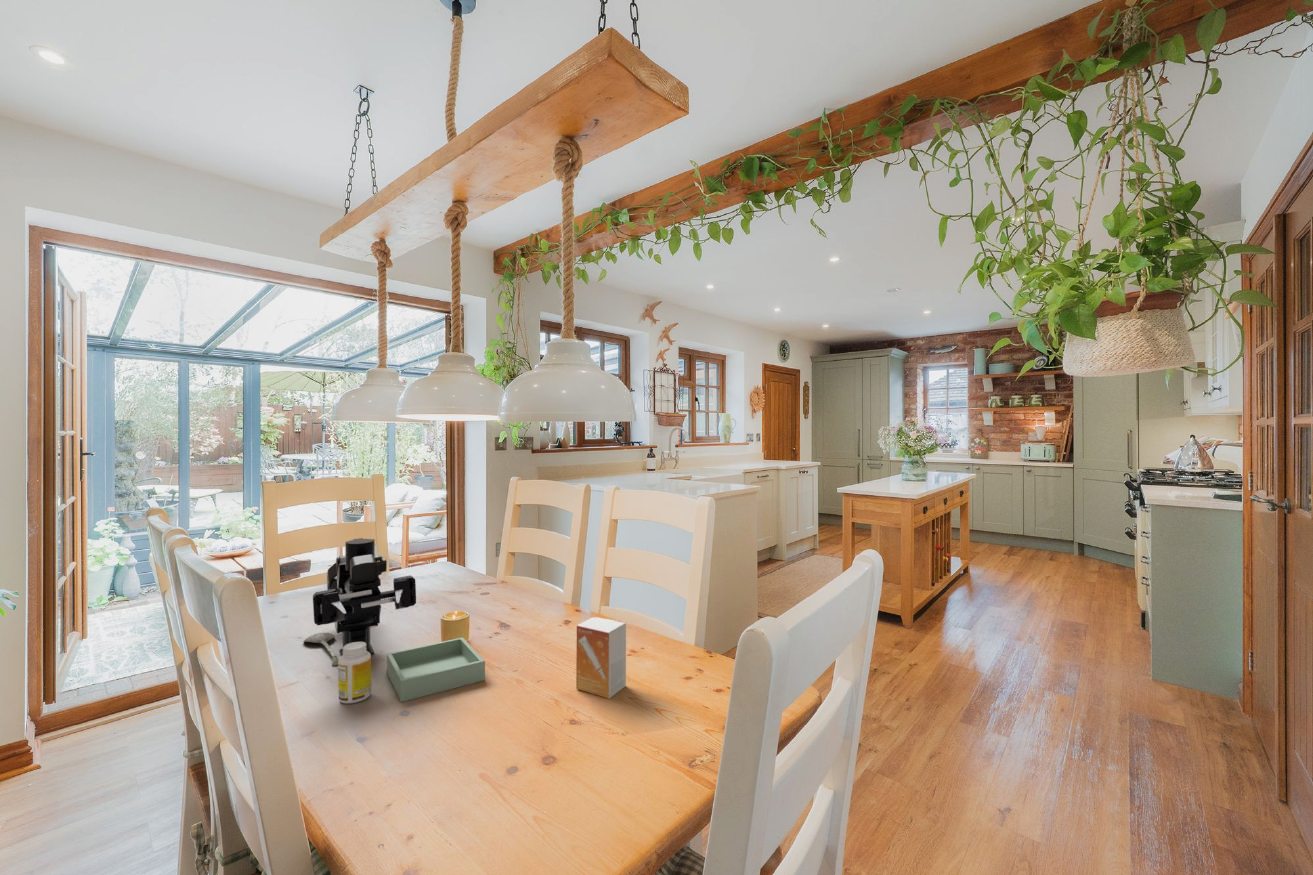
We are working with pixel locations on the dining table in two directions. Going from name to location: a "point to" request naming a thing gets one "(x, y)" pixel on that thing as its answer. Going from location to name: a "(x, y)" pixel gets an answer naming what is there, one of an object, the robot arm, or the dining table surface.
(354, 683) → the supplement bottle
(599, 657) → the small box
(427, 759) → the dining table surface
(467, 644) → the open box
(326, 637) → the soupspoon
